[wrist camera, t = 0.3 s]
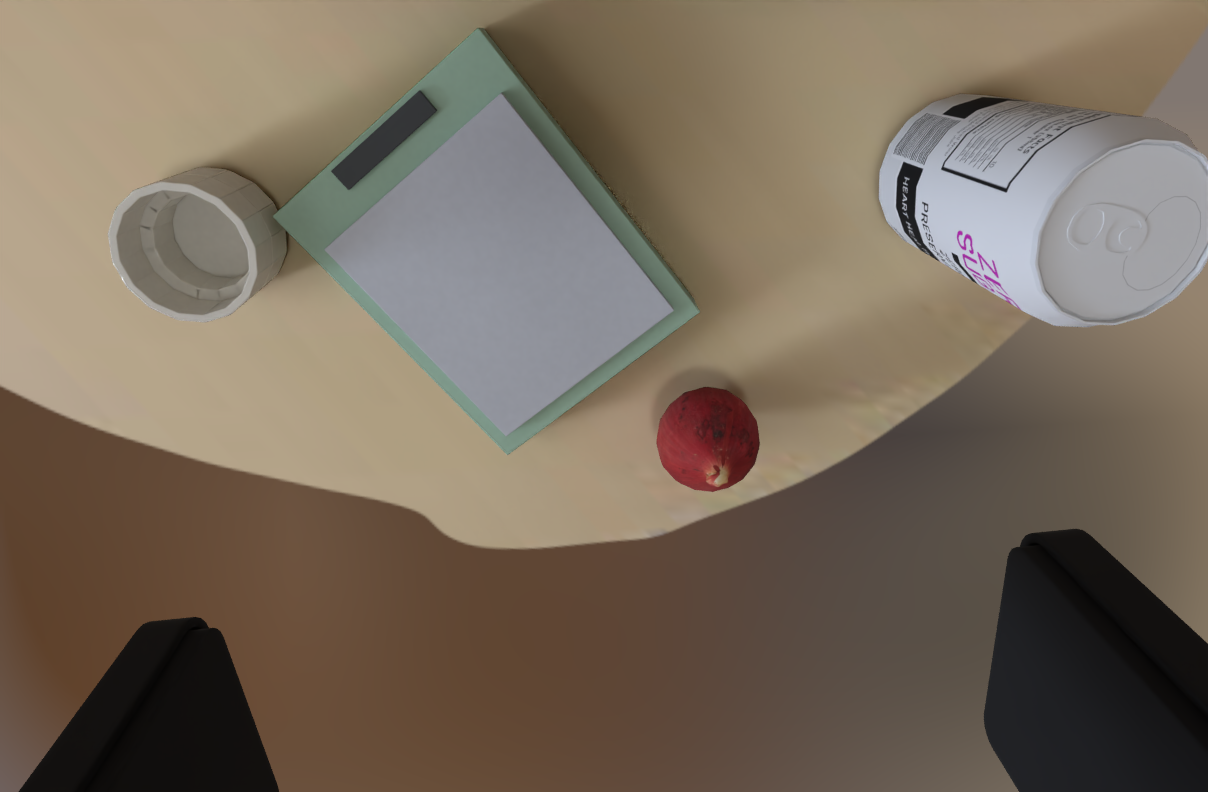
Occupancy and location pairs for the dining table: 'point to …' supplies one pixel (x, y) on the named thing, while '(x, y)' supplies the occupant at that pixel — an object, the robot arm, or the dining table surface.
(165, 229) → the bowl
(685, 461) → the onion
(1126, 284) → the supplement can
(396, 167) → the scale
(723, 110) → the dining table surface
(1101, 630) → the robot arm
